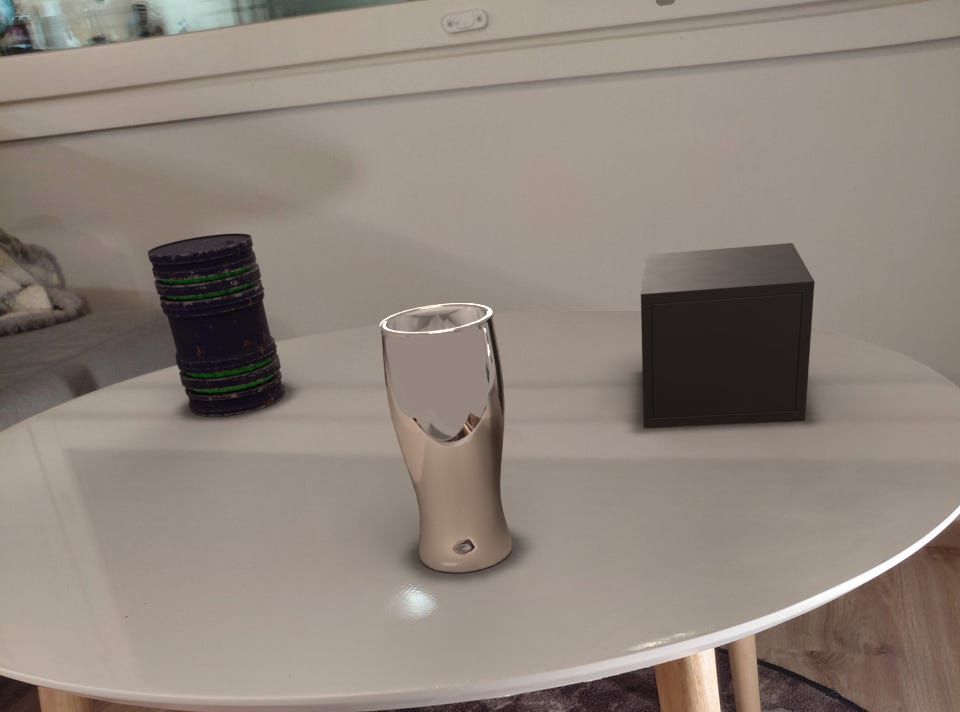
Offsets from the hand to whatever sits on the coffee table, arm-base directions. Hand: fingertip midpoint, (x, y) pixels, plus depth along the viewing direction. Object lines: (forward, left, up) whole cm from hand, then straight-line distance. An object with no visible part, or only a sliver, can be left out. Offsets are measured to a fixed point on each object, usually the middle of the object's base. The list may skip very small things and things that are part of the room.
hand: (665, 5), depth 89 cm
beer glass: (+44, +30, -29) cm, 61 cm away
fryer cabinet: (+12, +20, -29) cm, 37 cm away
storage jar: (+43, -16, -29) cm, 54 cm away
